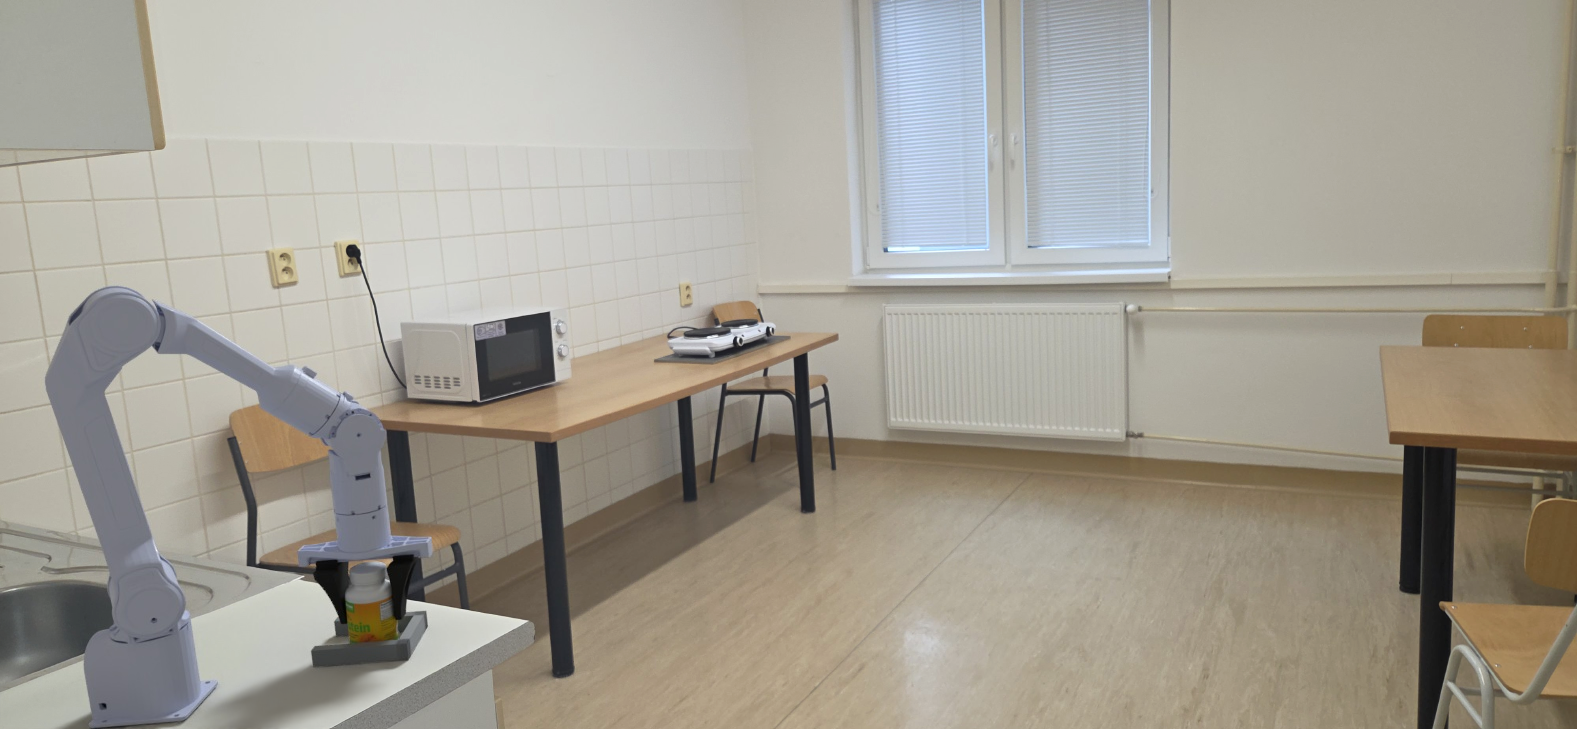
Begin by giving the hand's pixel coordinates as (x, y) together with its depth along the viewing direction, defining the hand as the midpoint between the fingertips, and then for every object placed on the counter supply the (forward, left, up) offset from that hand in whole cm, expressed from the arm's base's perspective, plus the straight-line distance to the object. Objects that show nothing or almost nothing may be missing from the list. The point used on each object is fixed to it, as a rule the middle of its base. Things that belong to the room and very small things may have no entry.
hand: (373, 618), depth 121 cm
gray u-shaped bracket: (0, 0, -3) cm, 3 cm away
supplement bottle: (0, 0, -3) cm, 4 cm away
